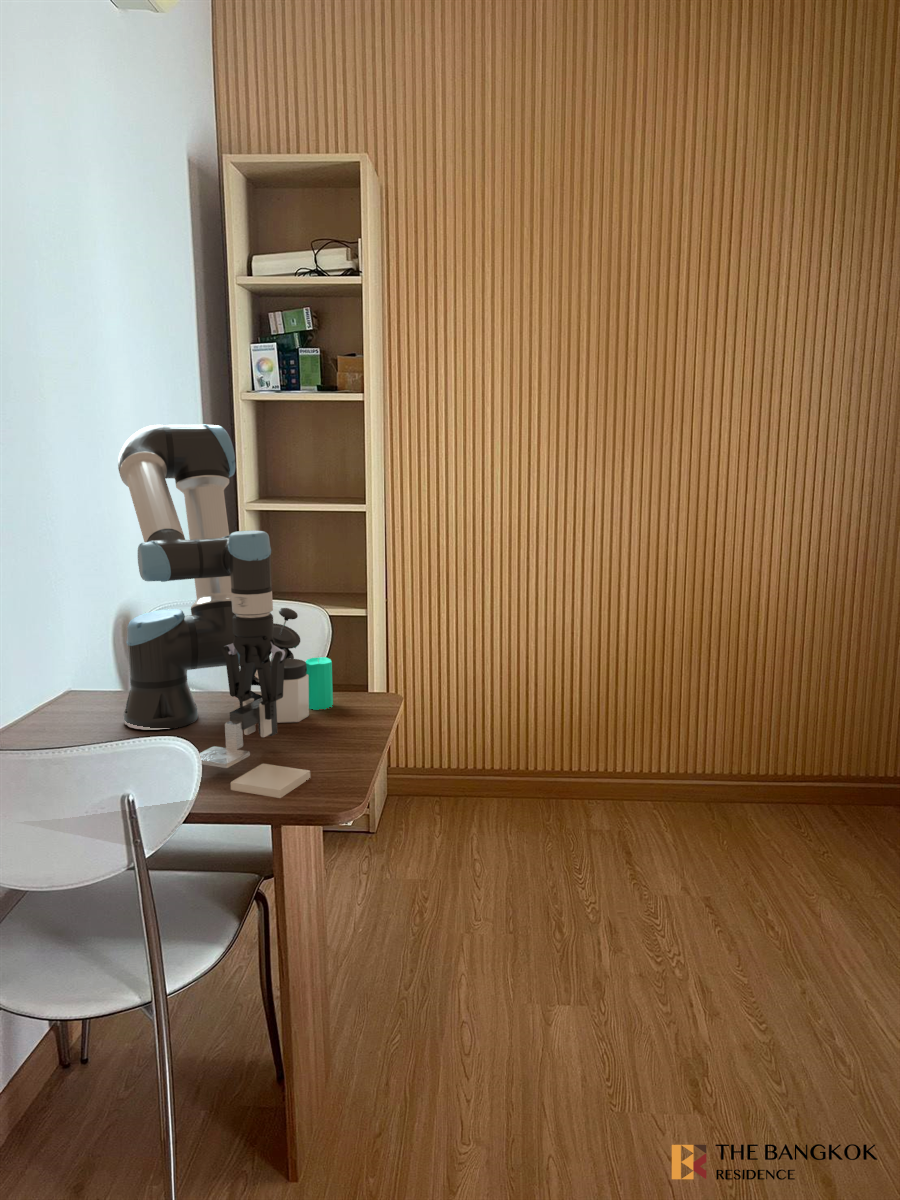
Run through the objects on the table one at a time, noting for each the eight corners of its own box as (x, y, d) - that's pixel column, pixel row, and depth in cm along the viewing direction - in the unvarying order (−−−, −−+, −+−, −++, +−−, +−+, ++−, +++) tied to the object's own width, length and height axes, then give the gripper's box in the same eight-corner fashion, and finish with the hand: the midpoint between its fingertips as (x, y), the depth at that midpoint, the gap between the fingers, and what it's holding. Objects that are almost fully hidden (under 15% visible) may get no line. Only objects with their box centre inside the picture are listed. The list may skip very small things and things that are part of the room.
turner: (253, 729, 190) (252, 695, 189) (288, 734, 187) (287, 699, 186) (189, 762, 172) (187, 724, 171) (226, 768, 169) (225, 730, 168)
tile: (262, 763, 176) (230, 782, 167) (310, 770, 172) (280, 790, 163) (262, 773, 176) (231, 792, 167) (310, 780, 173) (280, 800, 164)
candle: (316, 700, 220) (314, 649, 218) (338, 704, 217) (336, 652, 215) (300, 707, 215) (298, 655, 212) (322, 711, 212) (321, 658, 210)
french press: (289, 706, 217) (320, 623, 207) (255, 714, 210) (285, 628, 200) (260, 675, 223) (289, 593, 213) (226, 682, 216) (254, 597, 206)
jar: (315, 718, 207) (314, 664, 204) (281, 726, 202) (280, 670, 199) (294, 708, 214) (293, 656, 211) (261, 715, 208) (260, 661, 206)
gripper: (204, 614, 180) (211, 734, 184) (278, 620, 174) (283, 744, 178) (228, 607, 187) (234, 723, 191) (300, 613, 181) (304, 733, 185)
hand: (258, 733), depth 185 cm, fingers closed on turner, 3 cm apart
